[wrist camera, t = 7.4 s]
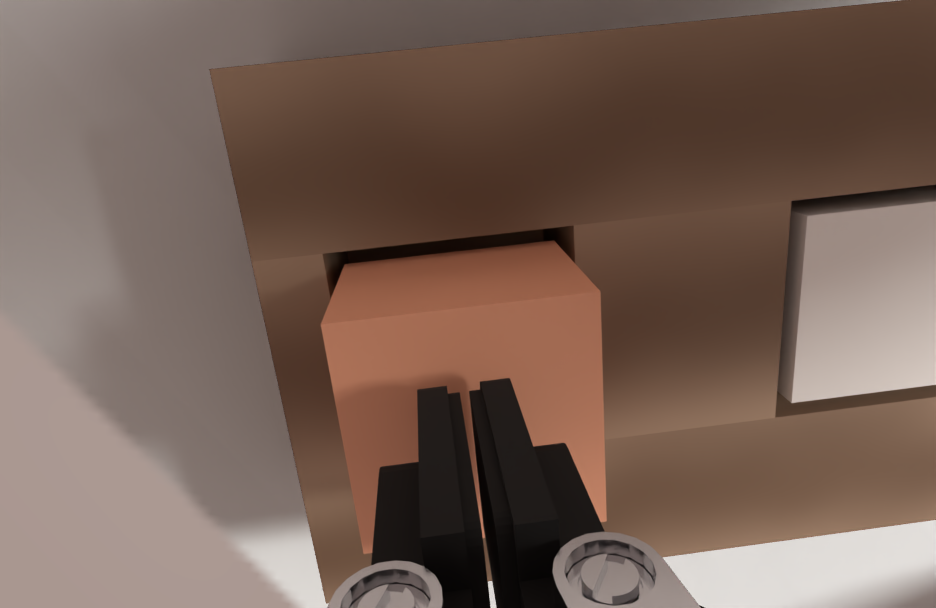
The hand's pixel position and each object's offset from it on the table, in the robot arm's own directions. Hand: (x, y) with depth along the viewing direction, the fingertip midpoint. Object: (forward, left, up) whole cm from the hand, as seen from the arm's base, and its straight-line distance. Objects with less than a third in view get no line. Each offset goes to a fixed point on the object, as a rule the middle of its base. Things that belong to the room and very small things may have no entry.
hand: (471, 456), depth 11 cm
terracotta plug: (0, 0, -5) cm, 5 cm away
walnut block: (0, +6, -10) cm, 12 cm away
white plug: (0, +11, -8) cm, 14 cm away
